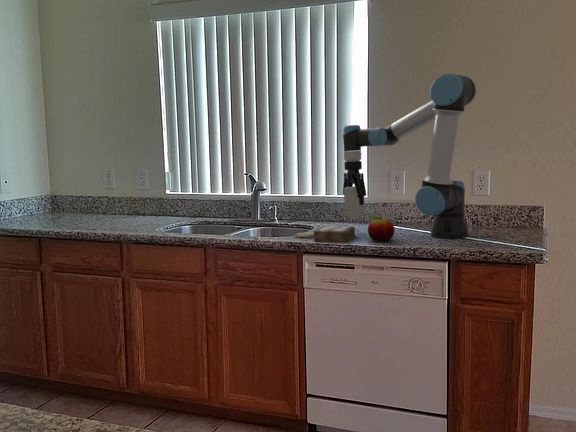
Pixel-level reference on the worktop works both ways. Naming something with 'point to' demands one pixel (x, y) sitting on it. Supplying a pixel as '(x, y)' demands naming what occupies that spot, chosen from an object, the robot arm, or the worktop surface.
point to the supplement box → (351, 202)
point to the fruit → (380, 229)
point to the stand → (334, 234)
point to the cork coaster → (305, 234)
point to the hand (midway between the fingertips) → (354, 211)
